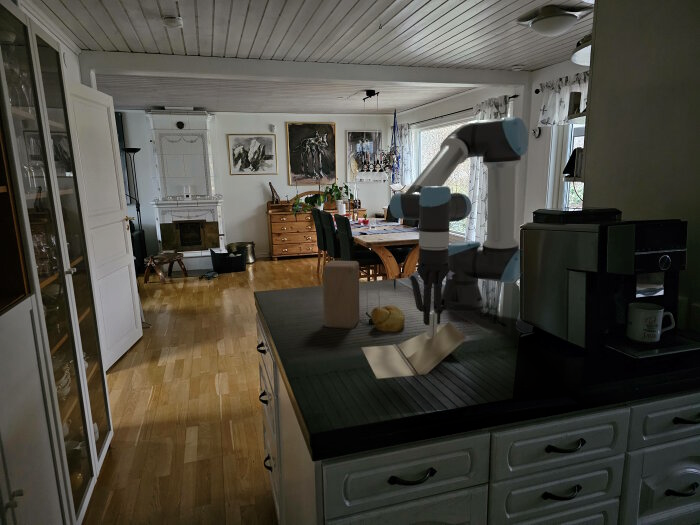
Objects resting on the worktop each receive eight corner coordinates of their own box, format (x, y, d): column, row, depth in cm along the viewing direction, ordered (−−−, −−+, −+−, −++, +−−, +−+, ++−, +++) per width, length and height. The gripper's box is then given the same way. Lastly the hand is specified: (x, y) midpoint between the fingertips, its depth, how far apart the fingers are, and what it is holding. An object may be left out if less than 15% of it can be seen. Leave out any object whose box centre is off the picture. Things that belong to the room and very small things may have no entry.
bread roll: (381, 321, 143) (381, 297, 141) (410, 324, 139) (410, 300, 138) (369, 333, 131) (368, 308, 129) (400, 337, 127) (400, 311, 126)
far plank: (444, 327, 119) (443, 323, 119) (457, 339, 111) (456, 335, 110) (398, 348, 118) (397, 345, 118) (408, 362, 110) (406, 358, 109)
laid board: (395, 349, 118) (395, 344, 118) (417, 379, 100) (417, 374, 100) (361, 351, 117) (361, 346, 117) (377, 383, 98) (377, 377, 98)
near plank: (451, 325, 109) (449, 322, 109) (467, 337, 100) (464, 334, 100) (410, 362, 109) (407, 359, 109) (422, 377, 100) (418, 374, 100)
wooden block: (354, 329, 134) (353, 266, 131) (323, 327, 136) (321, 265, 133) (360, 319, 144) (359, 260, 140) (330, 318, 146) (329, 259, 142)
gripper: (452, 244, 115) (449, 329, 119) (404, 246, 112) (402, 333, 117) (464, 248, 107) (461, 339, 111) (412, 250, 105) (411, 342, 109)
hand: (431, 335), depth 114 cm, fingers closed
